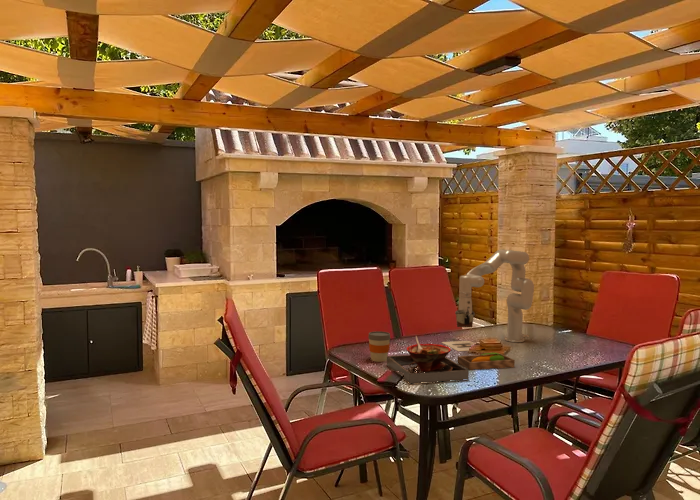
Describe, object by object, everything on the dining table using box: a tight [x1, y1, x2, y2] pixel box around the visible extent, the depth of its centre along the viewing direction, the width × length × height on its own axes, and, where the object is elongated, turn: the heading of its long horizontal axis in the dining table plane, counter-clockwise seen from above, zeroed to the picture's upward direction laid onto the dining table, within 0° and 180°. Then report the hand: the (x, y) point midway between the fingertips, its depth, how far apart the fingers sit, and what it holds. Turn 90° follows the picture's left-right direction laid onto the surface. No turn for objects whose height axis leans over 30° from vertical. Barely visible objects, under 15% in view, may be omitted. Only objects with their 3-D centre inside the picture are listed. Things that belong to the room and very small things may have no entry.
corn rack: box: [457, 353, 516, 371], centre depth 296 cm, size 27×14×4 cm, turn 105°
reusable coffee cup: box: [367, 330, 391, 363], centre depth 305 cm, size 13×13×15 cm
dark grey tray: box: [386, 354, 470, 384], centre depth 280 cm, size 31×35×5 cm
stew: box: [406, 335, 453, 373], centre depth 285 cm, size 28×24×16 cm
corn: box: [472, 351, 504, 362], centre depth 293 cm, size 7×8×20 cm
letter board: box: [441, 340, 476, 353], centre depth 341 cm, size 20×24×1 cm
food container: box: [455, 309, 476, 328], centre depth 341 cm, size 12×6×10 cm, turn 87°
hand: (464, 323), depth 340 cm, fingers closed on food container, 5 cm apart
